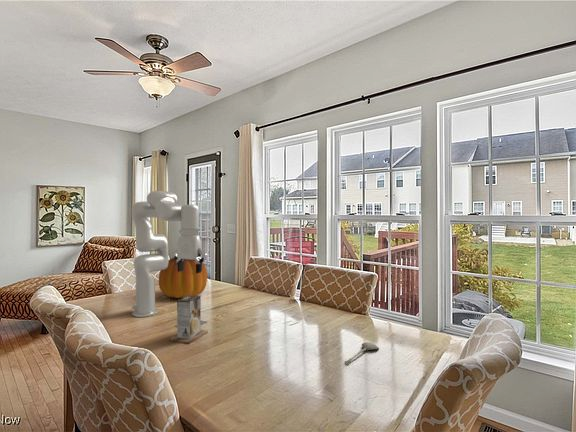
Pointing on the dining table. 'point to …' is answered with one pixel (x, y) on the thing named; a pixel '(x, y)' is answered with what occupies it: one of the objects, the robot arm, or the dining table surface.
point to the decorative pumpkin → (182, 279)
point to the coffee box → (188, 317)
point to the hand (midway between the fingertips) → (189, 271)
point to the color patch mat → (201, 322)
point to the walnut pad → (188, 341)
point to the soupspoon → (366, 347)
